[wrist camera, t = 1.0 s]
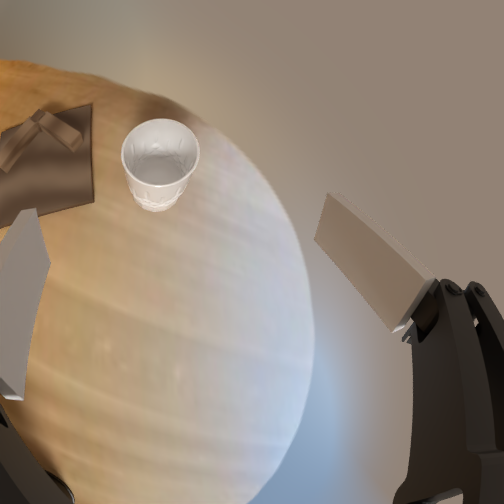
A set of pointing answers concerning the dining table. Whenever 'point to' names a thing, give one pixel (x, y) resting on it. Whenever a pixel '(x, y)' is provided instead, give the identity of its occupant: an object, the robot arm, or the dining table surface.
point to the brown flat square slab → (46, 164)
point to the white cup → (159, 162)
